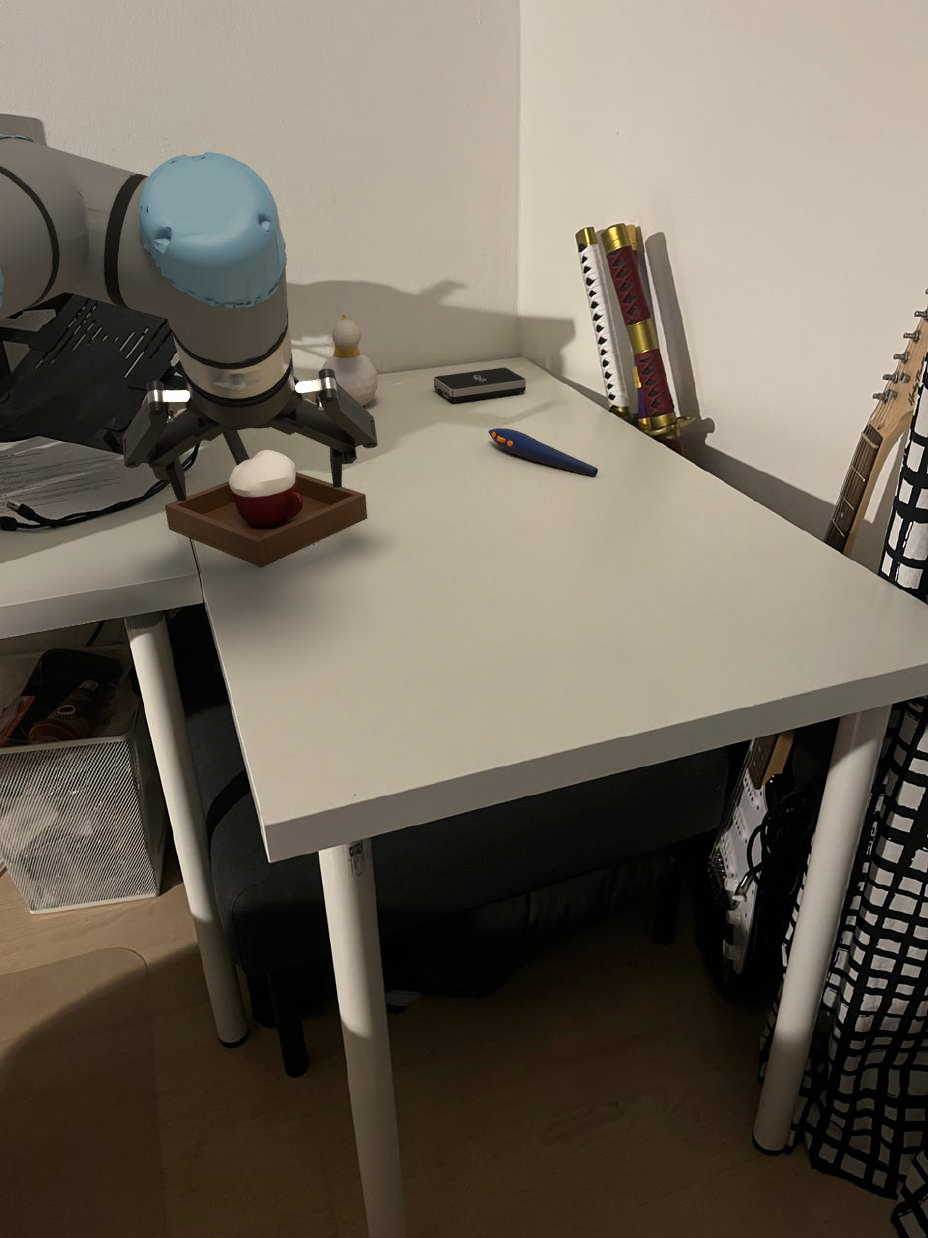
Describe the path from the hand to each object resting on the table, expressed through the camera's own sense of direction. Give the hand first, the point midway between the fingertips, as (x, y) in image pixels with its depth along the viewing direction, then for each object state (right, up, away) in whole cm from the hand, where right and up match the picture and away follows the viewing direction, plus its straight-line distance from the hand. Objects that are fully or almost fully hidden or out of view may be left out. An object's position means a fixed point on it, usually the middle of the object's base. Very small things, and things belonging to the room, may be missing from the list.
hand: (259, 480), depth 86 cm
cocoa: (-1, -3, +8) cm, 9 cm away
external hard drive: (+20, +18, +45) cm, 52 cm away
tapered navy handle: (+27, +5, +22) cm, 35 cm away
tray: (-1, -3, +8) cm, 9 cm away
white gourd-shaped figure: (+4, +15, +40) cm, 42 cm away
